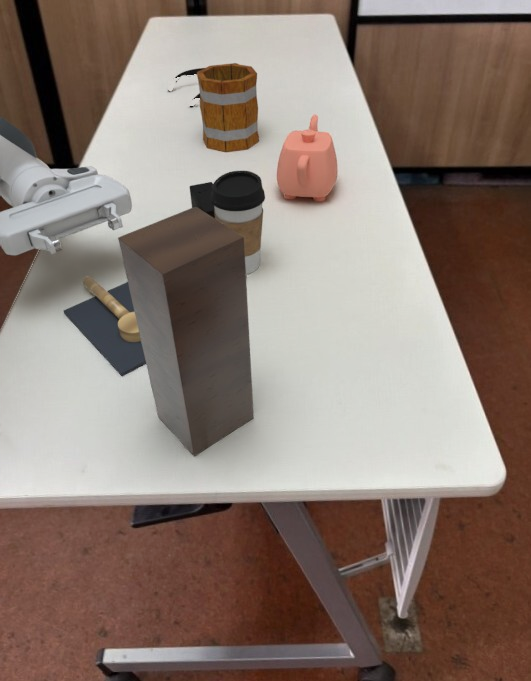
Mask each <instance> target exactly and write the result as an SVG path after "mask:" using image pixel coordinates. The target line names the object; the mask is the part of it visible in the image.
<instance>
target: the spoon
mask: <svg viewBox="0 0 531 681" xmlns="http://www.w3.org/2000/svg"><path fill="white" fill-rule="evenodd" d="M82 280H83V281H82V284H83V286H84V287H85V288H86V289H87V290H88V291H89V292H90V293H92V294H93V296H94V297H95V296H96V297H97V298H98V299H99V300H100V301H101V302H102V303H103V304H104V305H105V306H106V307H107V308H108V309H109V310H110V311H111V312H112V313H113V314H114V315H115V316H116V317H117V318H118V319H119V321H118V328H119V332H120V336H121V337H122V339H124V340H125V341H128V342H139V341H141V338H140V334H139V329H138V325H137V320H136V316H135V312H129V311H128V310H127V309H126V308H125V307H123V306H122V305H121V304H120V303H119V302H118V301H117V300H116V299H115V298H114V297H113V296H112V295H111V294H110V293H108V292H107V291H108V290H107V289H105V288H104V286H102V285H101V284H100V283H99V282H98V281H97V280H96V279H95V278H94V277H92V276H89V275H87V276H85V277H84V278H83V279H82Z"/></svg>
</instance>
